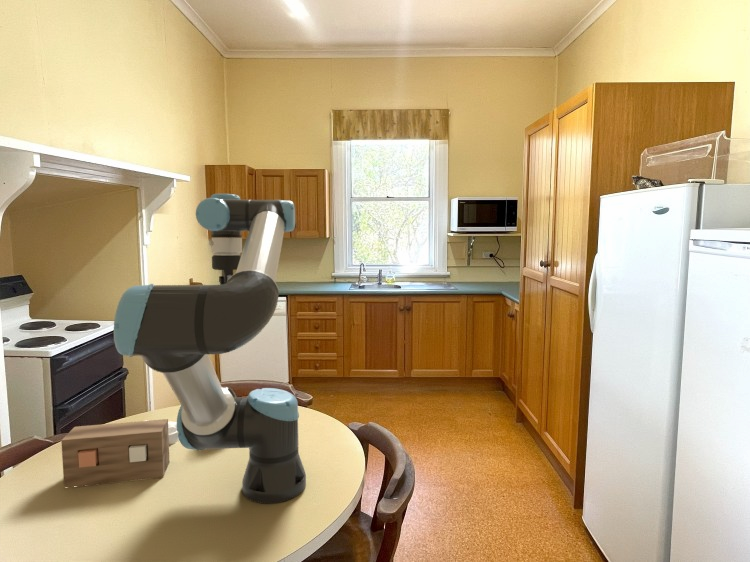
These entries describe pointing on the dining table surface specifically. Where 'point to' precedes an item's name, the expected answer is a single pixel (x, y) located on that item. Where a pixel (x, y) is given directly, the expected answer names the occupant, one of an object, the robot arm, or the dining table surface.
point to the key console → (116, 452)
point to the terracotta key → (88, 457)
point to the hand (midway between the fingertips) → (228, 342)
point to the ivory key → (138, 452)
